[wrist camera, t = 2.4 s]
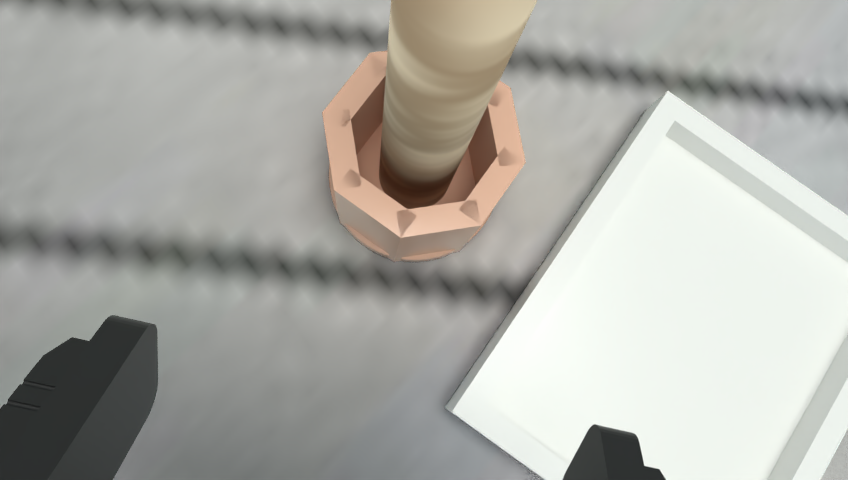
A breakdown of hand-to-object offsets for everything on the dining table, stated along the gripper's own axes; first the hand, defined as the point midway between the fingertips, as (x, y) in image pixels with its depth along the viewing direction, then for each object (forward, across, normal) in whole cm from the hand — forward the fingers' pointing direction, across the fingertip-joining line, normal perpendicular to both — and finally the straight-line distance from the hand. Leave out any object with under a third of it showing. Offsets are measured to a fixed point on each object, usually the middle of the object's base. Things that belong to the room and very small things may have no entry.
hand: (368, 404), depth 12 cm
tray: (+15, -13, +9) cm, 22 cm away
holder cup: (+19, 0, +6) cm, 20 cm away
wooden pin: (+18, 0, +5) cm, 19 cm away
